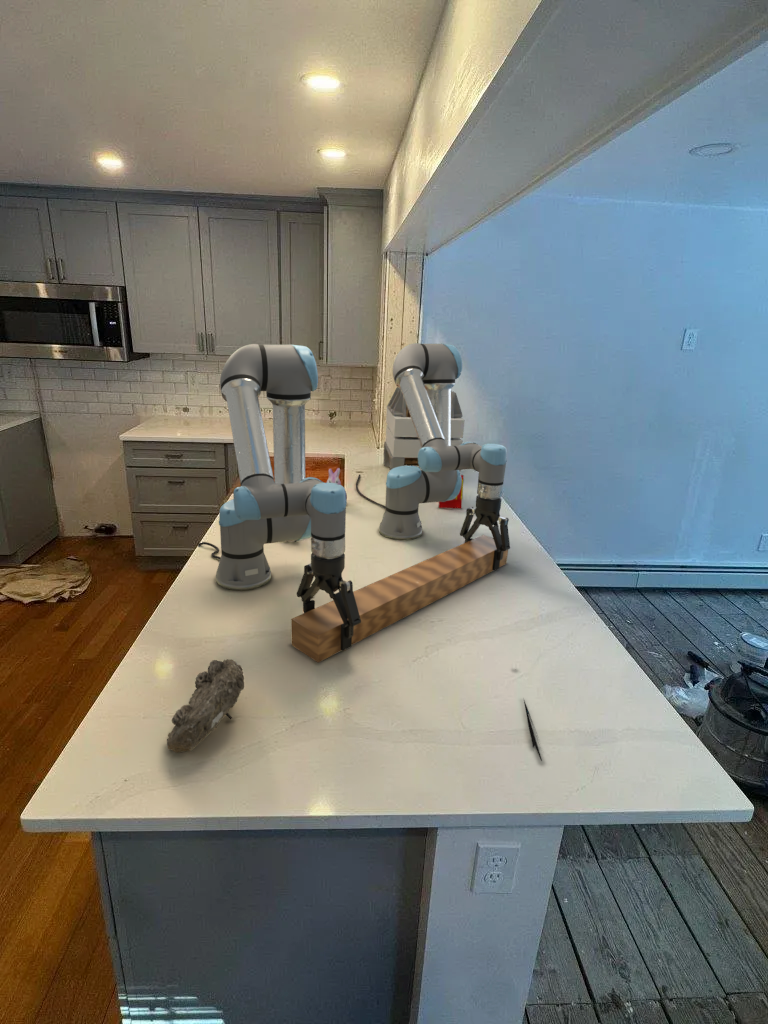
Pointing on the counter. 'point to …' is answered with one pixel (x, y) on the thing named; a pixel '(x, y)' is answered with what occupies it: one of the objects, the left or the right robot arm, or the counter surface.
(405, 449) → the grey wooden crate
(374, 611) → the wooden beam
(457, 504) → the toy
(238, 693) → the fossil
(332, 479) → the figurine
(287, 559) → the counter surface
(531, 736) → the feather
